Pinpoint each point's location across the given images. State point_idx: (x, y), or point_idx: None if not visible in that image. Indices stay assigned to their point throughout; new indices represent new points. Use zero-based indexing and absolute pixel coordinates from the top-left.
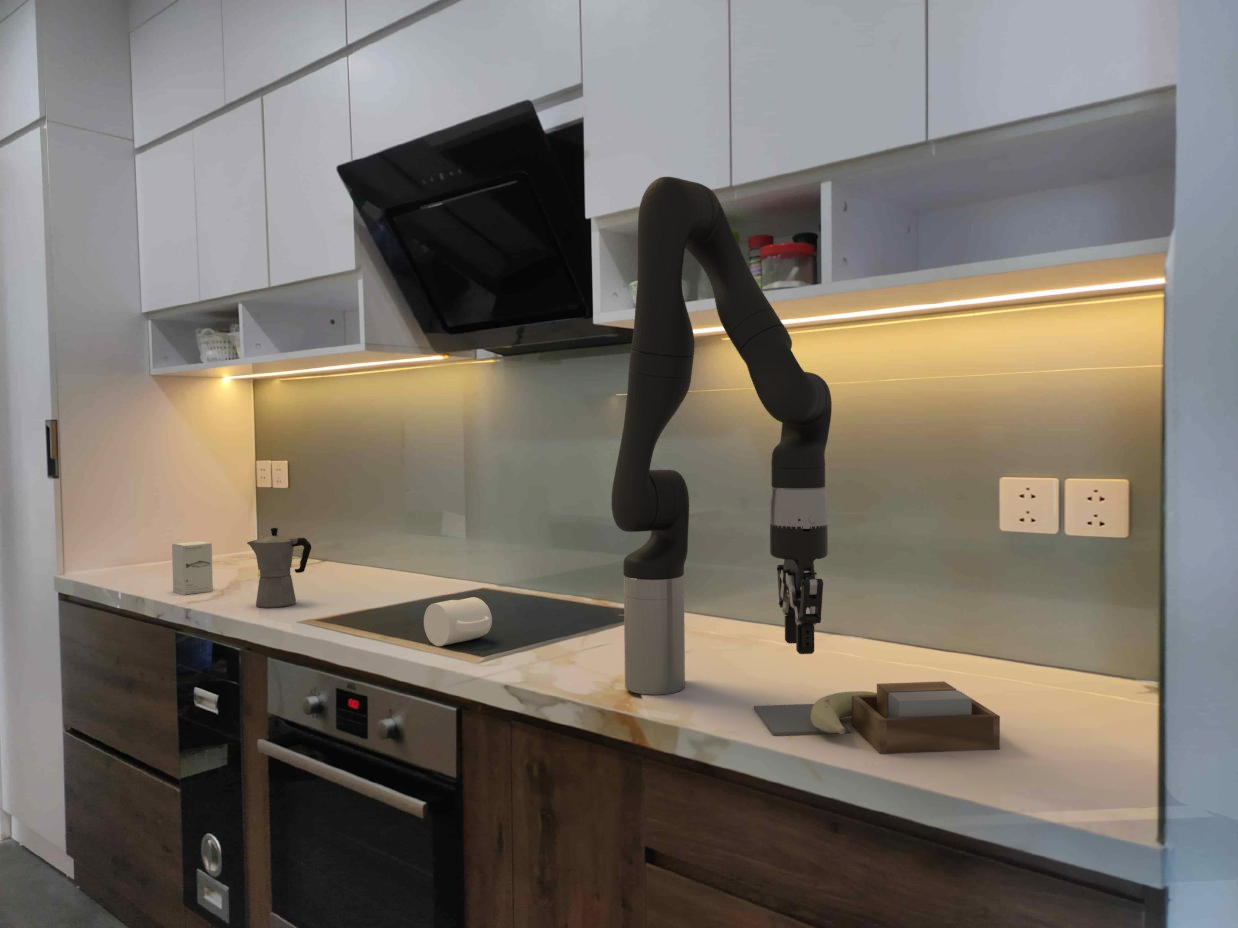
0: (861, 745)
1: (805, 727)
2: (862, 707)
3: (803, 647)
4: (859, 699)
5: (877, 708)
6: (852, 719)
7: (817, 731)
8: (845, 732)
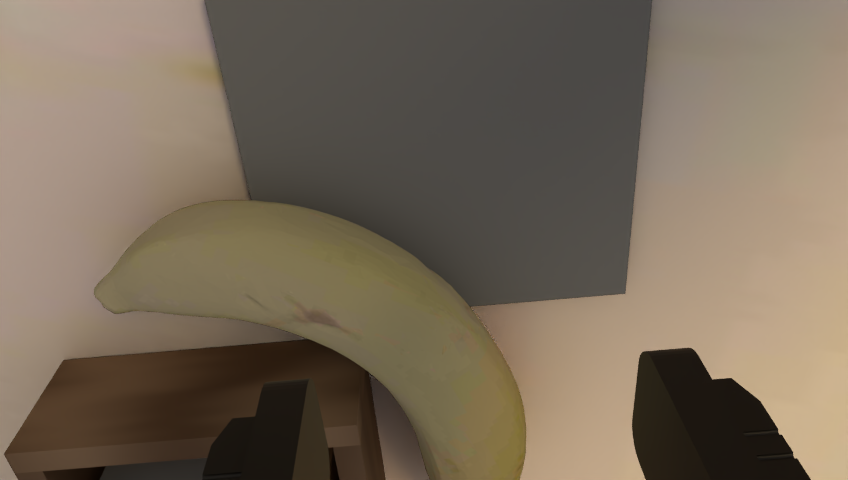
0: (141, 323)
1: (292, 163)
2: (218, 428)
3: (214, 449)
4: None
5: None
6: None
7: None
8: None
